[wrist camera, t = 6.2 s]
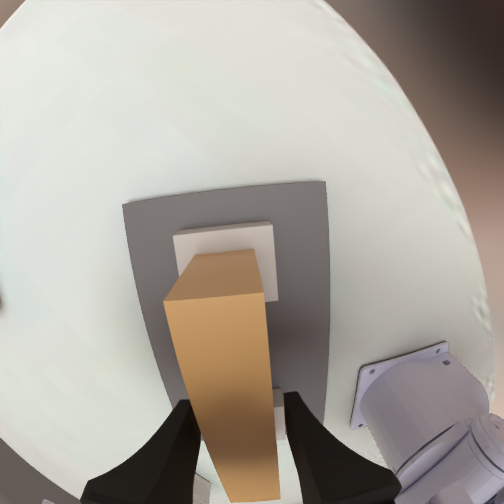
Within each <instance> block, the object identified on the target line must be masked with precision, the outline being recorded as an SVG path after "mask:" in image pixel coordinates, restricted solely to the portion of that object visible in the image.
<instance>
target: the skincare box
mask: <svg viewBox="0 0 504 504" xmlns="http://www.w3.org/2000/svg"><path fill="white" fill-rule="evenodd" d="M209 496H210V482H208V481H206V480H205V479H203V478H202V477H200V476H198V475H197V474H195V477H194V485H193V504H209Z"/></svg>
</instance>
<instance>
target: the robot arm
mask: <svg viewBox="0 0 504 504" xmlns="http://www.w3.org/2000/svg"><path fill="white" fill-rule="evenodd" d="M448 348H449V344H448V343H447V342H443V343H440V344H438V345H435V346H432V347H429V348H426V349H423V350H420V351H417V352H414V353H411V354H408V355H404V356H401V357H398V358H394V359H391V360H387V361H383V362H380V363H376V364H372V365H368V366H365V367H363V368H362V369H361V370H360V373H359V380H358V386H357V392H356V398H355V403H354V409H353V414H352V419H351V423H350V428H351V429H352V430H355V429H359V428H363V427H366V426H368V427H369V429H370V431H371V433H372V436H373V438H374V440H375V442H376V444H377V446H378V448H379V450H380V452H381V454H382V456H383V458H384V460H385V462H386V464H387V466H388V468H389V469H387V468H384V467H382V466H380V465H378V464H375V463H373V462H371V461H369V460H367V459H366V458H364V457H362V456H361V455H359V454H357V453H356V452H354V451H353V450H351V449H350V448H348V447H347V446H345V445H344V444H343V443H342V442H340V441H339V440H338V439H337V438H336V437H334V436H333V435H332V434H331V433H330V432H329V431H328V430H327V429H326V428H325V427H324V426H323V425H322V424H321V423H320V422H319V420H318V419H317V418H316V417H315V416H314V415H313V413H312V412H311V411H310V409H309V408H308V407H307V405H306V404H305V402H304V401H303V399H302V398H301V396H300V394H299V392H297V391H293V392H286V393H284V416H285V425H286V432H287V438H288V441H289V445H290V448H291V452H292V455H293V458H294V462H295V465H296V468H297V472H298V476H299V481H300V487H301V493H302V499H303V504H504V420H503V419H502V418H500V417H499V416H497V415H494V414H492V413H489V400H488V396H487V393H486V390H485V388H484V387H483V385H482V384H481V383H480V382H479V381H478V380H477V379H476V378H475V377H474V376H473V375H472V374H471V373H470V372H469V371H468V370H467V369H466V368H465V367H463V366H462V365H461V364H460V363H459V362H458V361H457V360H456V359H455V358H454V357H452V356H451V355H450V354H449V353H448ZM372 369H373V370H372ZM371 370H372V371H371ZM200 443H201V431H200V428H199V425H198V423H197V420H196V417H195V414H194V411H193V408H192V405H191V402H190V399H180V400H179V402H178V403H177V405H176V406H175V408H174V409H173V410H172V412H171V413H170V415H169V416H168V418H167V419H166V420H165V421H164V423H163V424H162V425H161V427H160V428H159V429H158V430H157V432H156V433H155V434H154V435H153V436H152V437H151V438H150V440H149V441H148V442H147V443H146V444H145V445H144V446H143V447H142V448H140V449H139V450H138V451H137V452H136V453H135V454H134V455H132V456H131V457H130V458H129V459H127V460H126V461H125V462H123V463H122V464H120V465H119V466H117V467H115V468H114V469H112V470H110V471H108V472H107V473H105V474H103V475H100V476H98V477H96V478H94V479H91V480H89V481H88V482H87V484H86V486H85V488H84V491H83V494H82V496H81V499H80V502H81V503H82V504H193V485H194V477H195V471H196V466H197V460H198V455H199V449H200ZM42 504H54V503H52V502H50V501H48V500H46V499H44V500H43V502H42Z"/></svg>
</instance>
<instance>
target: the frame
mask: <svg viewBox="0 0 504 504" xmlns="http://www.w3.org/2000/svg"><path fill="white" fill-rule="evenodd" d="M163 303H164V308H165V312H166V316H167V321H168V325H169V329H170V333H171V337H172V341H173V345H174V348H175V352H176V356H177V359H178V363H179V366H180V370H181V373H182V377H183V380H184V383H185V387H186V390H187V393H188V396H189V399H190V402H191V405H192V408H193V411H194V414H195V417H196V420H197V423H198V425H199V428H200V431H201V434H202V436H203V439H204V442H205V444H206V447H207V449H208V452H209V454H210V457H211V459H212V462H213V464H214V467H215V469H216V471H217V474H218V476H219V478H220V481H221V483H222V485H223V487H224V489H225V492H226V494H227V496H228V498H229V500H230V502H231V503H232V502H256V501H268V500H278V499H281V498H280V484H279V470H278V457H277V443H276V430H275V418H274V405H273V393H272V381H271V369H270V357H269V345H268V334H267V322H266V311H265V300H264V291H263V286H262V282H261V277H260V273H259V268H258V264H257V260H256V255H255V251H254V249H246V250H237V251H227V252H217V253H208V254H199V255H194V257H193V258H192V259H191V261H190V262H189V264H188V265H187V267H186V268H185V270H184V271H183V272H182V274H181V275H180V277H179V278H178V280H177V281H176V283H175V284H174V286H173V287H172V289H171V290H170V292H169V293H168V295H167V296H166V298H165V299H164V301H163Z"/></svg>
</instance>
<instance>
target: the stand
mask: <svg viewBox="0 0 504 504" xmlns="http://www.w3.org/2000/svg"><path fill="white" fill-rule="evenodd" d="M122 207H123V215H124V222H125V229H126V235H127V242H128V248H129V253H130V259H131V264H132V269H133V274H134V279H135V283H136V288H137V292H138V297H139V301H140V305H141V309H142V313H143V317H144V321H145V325H146V328H147V332H148V336H149V339H150V343H151V346H152V349H153V353H154V356H155V359H156V362H157V365H158V368H159V371H160V374H161V377H162V380H163V383H164V386H165V389H166V392H167V394H168V397H169V400H170V402H171V405H172V408H173V409H174V408H175V406H176V405H177V403H178V402H179V400H180V399H189V396H188V393H187V390H186V387H185V383H184V380H183V377H182V373H181V370H180V366H179V363H178V359H177V356H176V352H175V348H174V345H173V341H172V337H171V333H170V329H169V325H168V321H167V316H166V312H165V308H164V303H163V301H164V299H165V298H166V296H167V295H168V293H169V292H170V290H171V289H172V287H173V286H174V284H175V283H176V281H177V280H178V278H179V277H180V275H181V274H182V272H183V271H184V270H185V268H186V267H187V265H188V264H189V262H190V261H191V259H192V258H193V257H194V255H199V254H208V253H217V252H227V251H237V250H246V249H254V251H255V255H256V260H257V264H258V268H259V273H260V277H261V282H262V286H263V291H264V300H265V311H266V322H267V334H268V345H269V357H270V369H271V381H272V393H273V405H274V418H275V430H276V440H283V439H285V435H287V432H286V425H285V416H284V393H286V392H293V391H297V392H299V394H300V396H301V398H302V399H303V401H304V402H305V404H306V405H307V407H308V408H309V409H310V411H311V412H312V413H313V415H314V416H315V417H316V418H317V419H318V420H319V422H320V423H321V424H322V425H323V420H324V410H325V399H326V387H327V373H328V356H329V332H330V251H329V226H328V208H327V193H326V181H322V182H304V183H289V184H275V185H263V186H252V187H242V188H232V189H223V190H214V191H206V192H198V193H190V194H183V195H176V196H169V197H162V198H156V199H150V200H144V201H138V202H132V203H126V204H122ZM201 441H204V439H203V436H202V434H201Z"/></svg>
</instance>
